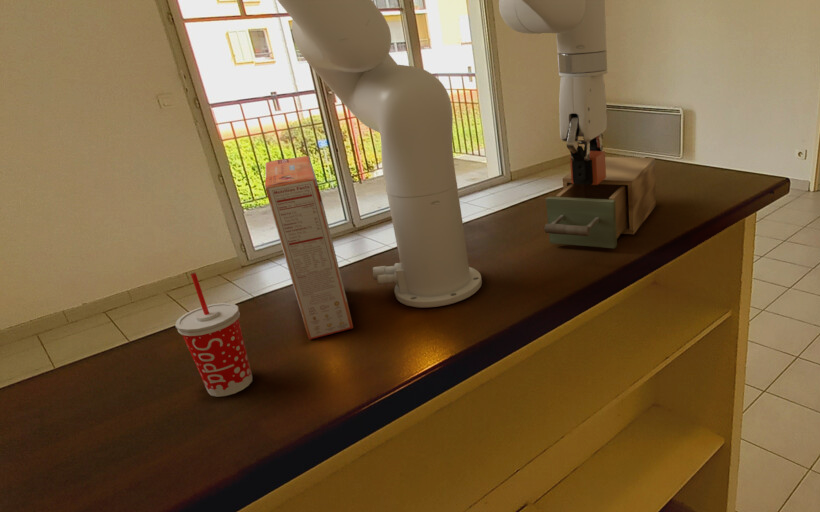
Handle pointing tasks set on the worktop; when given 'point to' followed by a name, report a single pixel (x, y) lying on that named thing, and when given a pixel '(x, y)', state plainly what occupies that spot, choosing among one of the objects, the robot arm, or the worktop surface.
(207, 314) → the beverage cup
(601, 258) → the worktop surface
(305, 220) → the cracker box
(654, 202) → the cabinet
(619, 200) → the drawer
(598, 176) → the block
